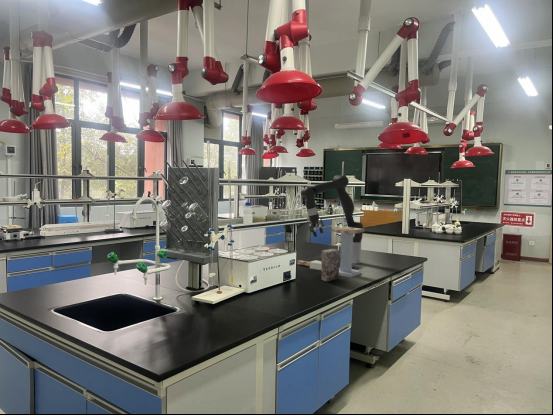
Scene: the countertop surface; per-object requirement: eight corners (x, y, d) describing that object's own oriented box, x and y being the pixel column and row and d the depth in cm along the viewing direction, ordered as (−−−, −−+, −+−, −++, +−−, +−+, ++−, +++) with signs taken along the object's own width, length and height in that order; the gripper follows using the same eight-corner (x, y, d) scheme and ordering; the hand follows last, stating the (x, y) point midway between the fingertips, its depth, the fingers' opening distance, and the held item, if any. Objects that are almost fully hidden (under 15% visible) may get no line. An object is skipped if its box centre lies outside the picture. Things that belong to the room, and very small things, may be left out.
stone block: (328, 282, 248) (329, 251, 246) (319, 280, 252) (320, 250, 251) (340, 278, 257) (341, 249, 256) (331, 276, 262) (332, 248, 261)
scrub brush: (295, 265, 294) (295, 259, 293) (300, 264, 300) (300, 257, 300) (321, 270, 281) (321, 263, 280) (326, 268, 287) (326, 262, 287)
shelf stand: (328, 274, 269) (329, 229, 267) (342, 269, 286) (344, 226, 284) (348, 278, 259) (350, 231, 257) (362, 272, 277) (364, 228, 275)
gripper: (311, 215, 274) (317, 237, 276) (322, 210, 285) (328, 231, 286) (303, 217, 279) (309, 238, 281) (314, 212, 290) (319, 232, 291)
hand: (318, 234), depth 283 cm, fingers open, 8 cm apart
